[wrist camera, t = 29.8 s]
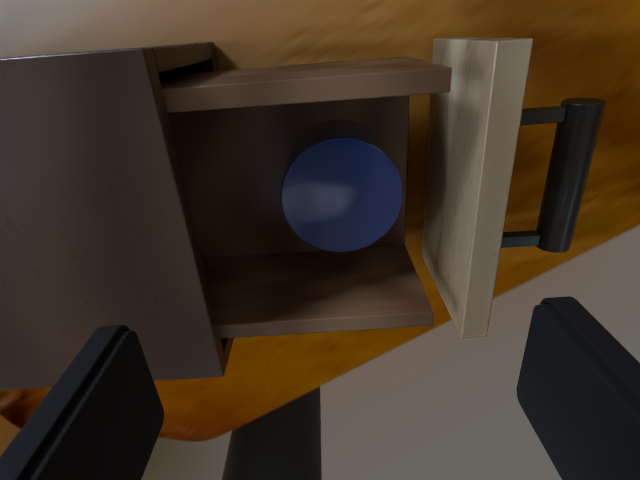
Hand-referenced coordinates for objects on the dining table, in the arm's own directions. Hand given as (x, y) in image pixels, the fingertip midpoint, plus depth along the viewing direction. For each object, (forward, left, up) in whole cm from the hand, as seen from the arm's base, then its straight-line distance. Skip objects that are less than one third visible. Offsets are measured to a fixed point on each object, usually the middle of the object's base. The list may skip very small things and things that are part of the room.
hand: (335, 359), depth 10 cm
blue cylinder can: (0, -1, -14) cm, 14 cm away
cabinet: (0, +13, -16) cm, 21 cm away
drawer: (0, -2, -15) cm, 15 cm away
